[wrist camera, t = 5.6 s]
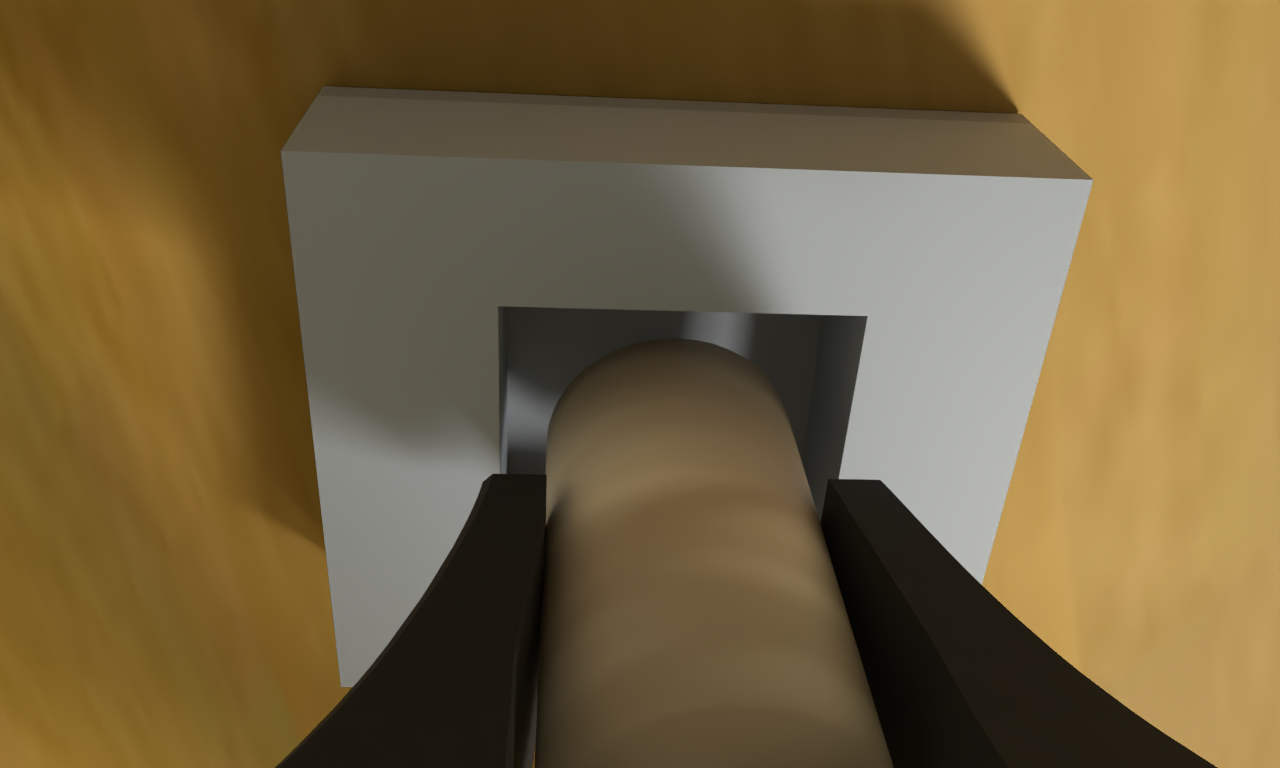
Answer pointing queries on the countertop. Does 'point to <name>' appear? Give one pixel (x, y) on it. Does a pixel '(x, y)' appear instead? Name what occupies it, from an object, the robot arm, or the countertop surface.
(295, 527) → the countertop surface
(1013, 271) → the hole block
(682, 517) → the maple pin
